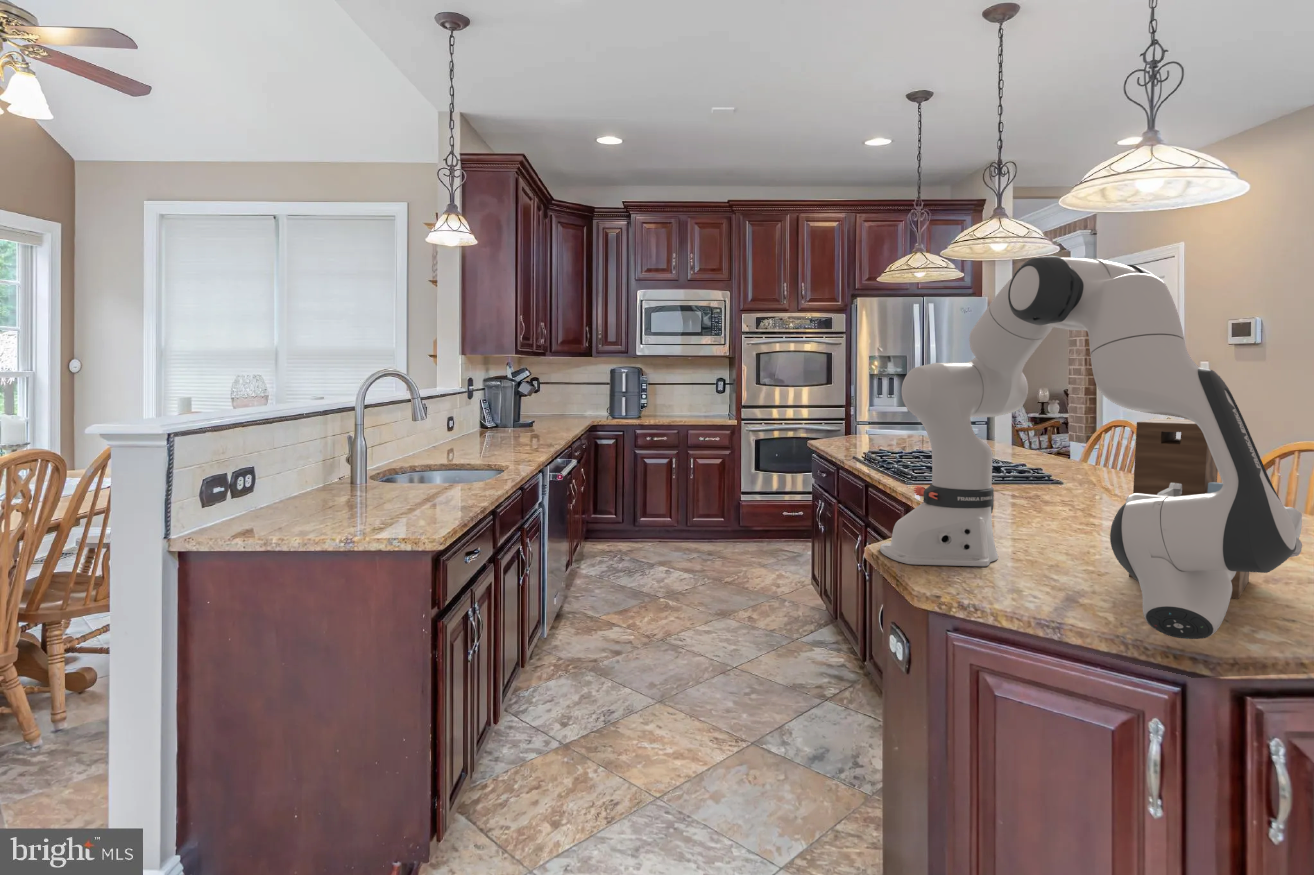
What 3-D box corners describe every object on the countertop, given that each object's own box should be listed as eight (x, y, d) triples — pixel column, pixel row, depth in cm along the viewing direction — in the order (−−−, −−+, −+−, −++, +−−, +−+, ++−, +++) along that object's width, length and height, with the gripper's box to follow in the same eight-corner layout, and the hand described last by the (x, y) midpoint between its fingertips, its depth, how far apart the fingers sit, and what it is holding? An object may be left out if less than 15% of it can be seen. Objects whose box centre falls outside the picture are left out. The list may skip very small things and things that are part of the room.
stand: (1238, 598, 112) (1249, 426, 109) (1125, 579, 123) (1133, 422, 120) (1250, 577, 123) (1260, 421, 121) (1146, 562, 134) (1153, 418, 132)
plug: (1234, 507, 109) (1236, 485, 109) (1206, 504, 111) (1208, 482, 111) (1249, 501, 122) (1250, 481, 122) (1224, 498, 125) (1225, 479, 125)
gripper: (1300, 541, 88) (1309, 479, 96) (1113, 519, 103) (1134, 467, 111) (1299, 578, 91) (1307, 515, 99) (1117, 552, 106) (1137, 498, 113)
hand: (1214, 489), depth 105 cm, fingers open, 8 cm apart
